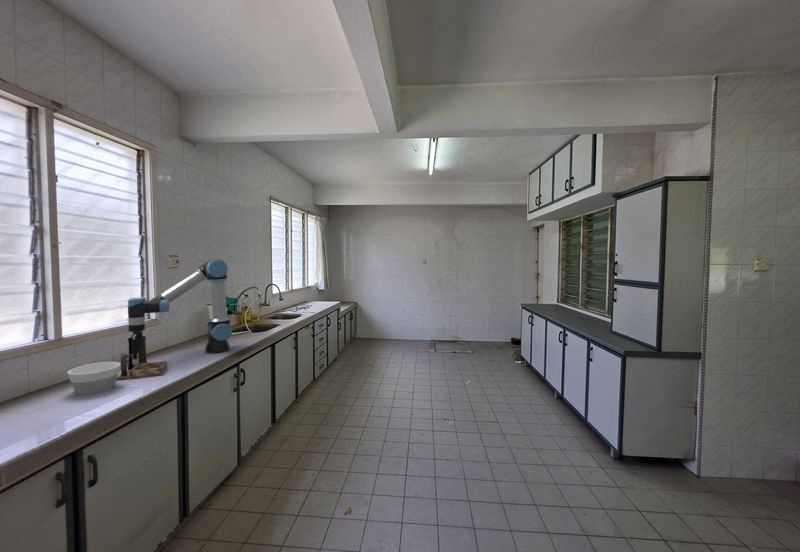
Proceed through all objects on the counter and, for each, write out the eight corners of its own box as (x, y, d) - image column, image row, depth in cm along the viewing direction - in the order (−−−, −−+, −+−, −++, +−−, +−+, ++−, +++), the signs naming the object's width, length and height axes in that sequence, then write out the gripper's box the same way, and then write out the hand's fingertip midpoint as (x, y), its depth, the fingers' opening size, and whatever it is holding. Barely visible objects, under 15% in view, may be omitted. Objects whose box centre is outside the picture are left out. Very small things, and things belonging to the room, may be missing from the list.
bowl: (128, 386, 163) (127, 365, 162) (76, 400, 146) (75, 377, 146) (112, 379, 172) (112, 359, 172) (62, 391, 156) (61, 369, 155)
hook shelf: (166, 367, 191) (166, 345, 191) (161, 375, 179) (161, 352, 178) (123, 372, 182) (123, 349, 182) (115, 380, 170) (114, 356, 169)
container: (151, 365, 194) (150, 336, 194) (137, 370, 186) (137, 339, 185) (137, 365, 195) (137, 335, 195) (123, 369, 186) (122, 339, 186)
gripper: (133, 321, 197) (134, 358, 198) (123, 328, 178) (124, 368, 179) (148, 320, 200) (149, 356, 201) (140, 326, 182) (141, 366, 183)
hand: (137, 362), depth 190 cm, fingers closed on container, 8 cm apart
